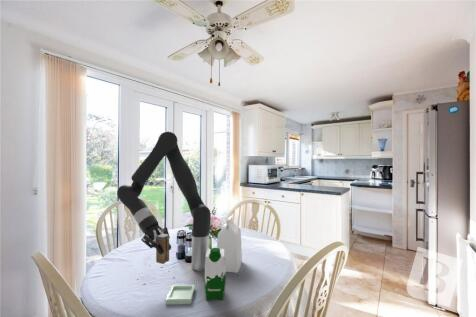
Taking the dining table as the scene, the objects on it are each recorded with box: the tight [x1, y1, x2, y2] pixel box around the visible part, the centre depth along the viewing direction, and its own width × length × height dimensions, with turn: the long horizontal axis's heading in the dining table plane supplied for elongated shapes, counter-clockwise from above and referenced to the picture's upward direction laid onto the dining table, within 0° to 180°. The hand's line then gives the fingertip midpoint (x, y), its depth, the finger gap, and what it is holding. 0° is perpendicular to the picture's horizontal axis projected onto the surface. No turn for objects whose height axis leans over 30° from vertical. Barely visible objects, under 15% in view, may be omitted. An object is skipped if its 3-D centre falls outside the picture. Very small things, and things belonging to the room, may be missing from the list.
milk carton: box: [204, 247, 227, 301], centre depth 92 cm, size 9×9×20 cm
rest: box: [165, 284, 196, 305], centre depth 91 cm, size 10×10×2 cm
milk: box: [216, 216, 243, 274], centre depth 117 cm, size 12×12×26 cm
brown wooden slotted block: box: [155, 234, 170, 265], centre depth 95 cm, size 4×4×11 cm
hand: (166, 251), depth 94 cm, fingers closed on brown wooden slotted block, 3 cm apart
